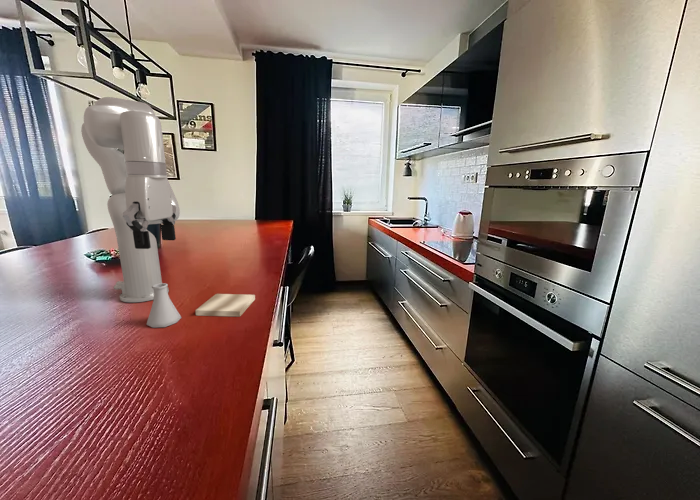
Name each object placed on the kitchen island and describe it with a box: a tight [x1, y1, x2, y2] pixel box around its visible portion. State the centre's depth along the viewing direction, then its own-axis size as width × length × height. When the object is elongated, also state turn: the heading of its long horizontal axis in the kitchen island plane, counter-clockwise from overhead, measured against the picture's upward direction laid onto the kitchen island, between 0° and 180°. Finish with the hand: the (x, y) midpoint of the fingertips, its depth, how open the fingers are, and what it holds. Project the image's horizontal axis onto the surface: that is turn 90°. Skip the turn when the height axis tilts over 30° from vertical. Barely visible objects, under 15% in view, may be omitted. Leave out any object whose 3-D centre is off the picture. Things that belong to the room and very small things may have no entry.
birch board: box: [195, 293, 256, 318], centre depth 85 cm, size 12×12×2 cm
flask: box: [146, 282, 182, 328], centre depth 74 cm, size 7×7×10 cm
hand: (156, 244), depth 71 cm, fingers open, 9 cm apart
